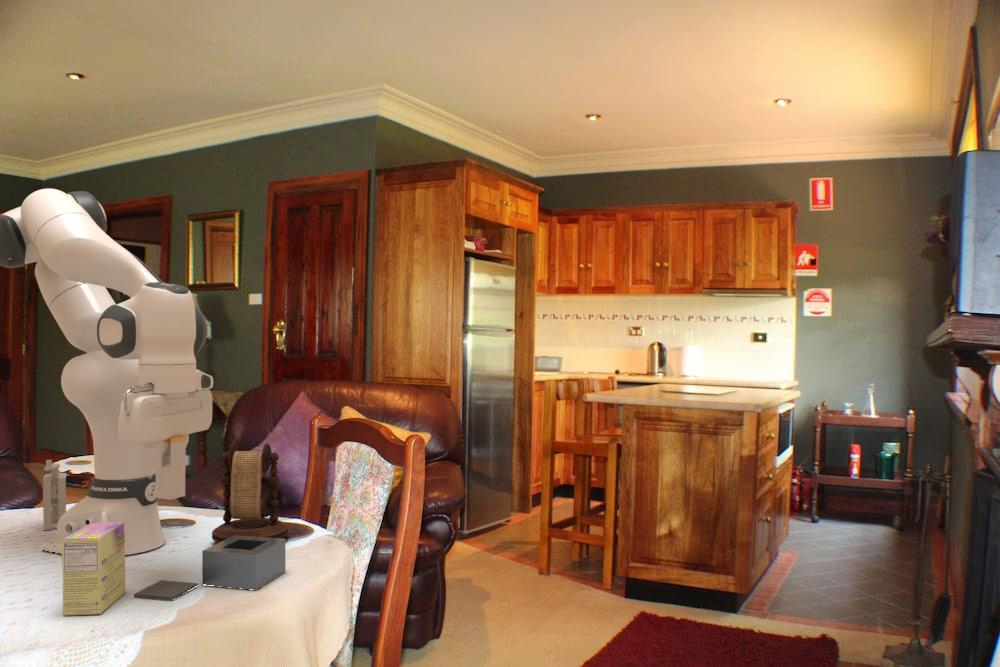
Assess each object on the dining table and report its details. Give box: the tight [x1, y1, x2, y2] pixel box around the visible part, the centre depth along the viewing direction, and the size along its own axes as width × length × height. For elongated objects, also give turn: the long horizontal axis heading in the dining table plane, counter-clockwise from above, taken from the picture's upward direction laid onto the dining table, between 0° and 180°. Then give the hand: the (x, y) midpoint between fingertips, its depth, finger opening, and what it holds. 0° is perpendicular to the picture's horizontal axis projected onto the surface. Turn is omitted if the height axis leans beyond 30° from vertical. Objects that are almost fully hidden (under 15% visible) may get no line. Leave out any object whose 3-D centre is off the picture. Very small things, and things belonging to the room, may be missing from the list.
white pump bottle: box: [42, 459, 67, 531], centre depth 176 cm, size 4×10×15 cm, turn 25°
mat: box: [133, 579, 199, 601], centre depth 133 cm, size 7×7×1 cm
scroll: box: [211, 442, 289, 544], centre depth 163 cm, size 15×15×20 cm
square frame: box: [201, 535, 286, 591], centre depth 140 cm, size 10×10×6 cm
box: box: [61, 522, 126, 617], centre depth 128 cm, size 10×6×12 cm, turn 5°
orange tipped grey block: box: [155, 435, 187, 501], centre depth 133 cm, size 3×3×10 cm
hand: (167, 465), depth 133 cm, fingers closed on orange tipped grey block, 3 cm apart
